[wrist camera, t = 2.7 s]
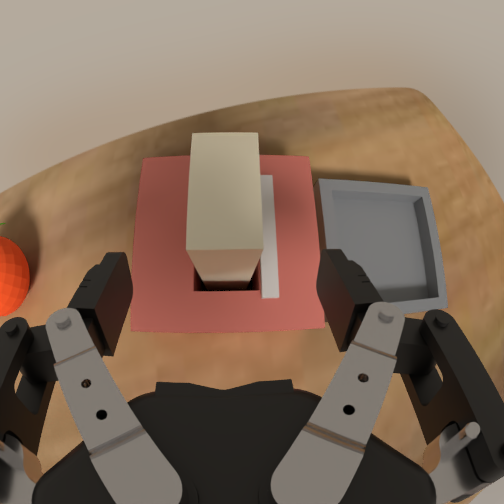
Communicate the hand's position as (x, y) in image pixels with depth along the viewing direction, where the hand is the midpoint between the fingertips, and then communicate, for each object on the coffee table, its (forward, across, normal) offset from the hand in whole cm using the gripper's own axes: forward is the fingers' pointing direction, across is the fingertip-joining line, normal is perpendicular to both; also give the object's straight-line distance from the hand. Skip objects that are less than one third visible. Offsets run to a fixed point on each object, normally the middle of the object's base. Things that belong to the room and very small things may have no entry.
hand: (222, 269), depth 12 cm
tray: (+10, -13, +6) cm, 18 cm away
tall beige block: (+10, 0, +6) cm, 12 cm away
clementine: (+9, +20, +7) cm, 23 cm away
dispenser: (+10, 0, +6) cm, 12 cm away
